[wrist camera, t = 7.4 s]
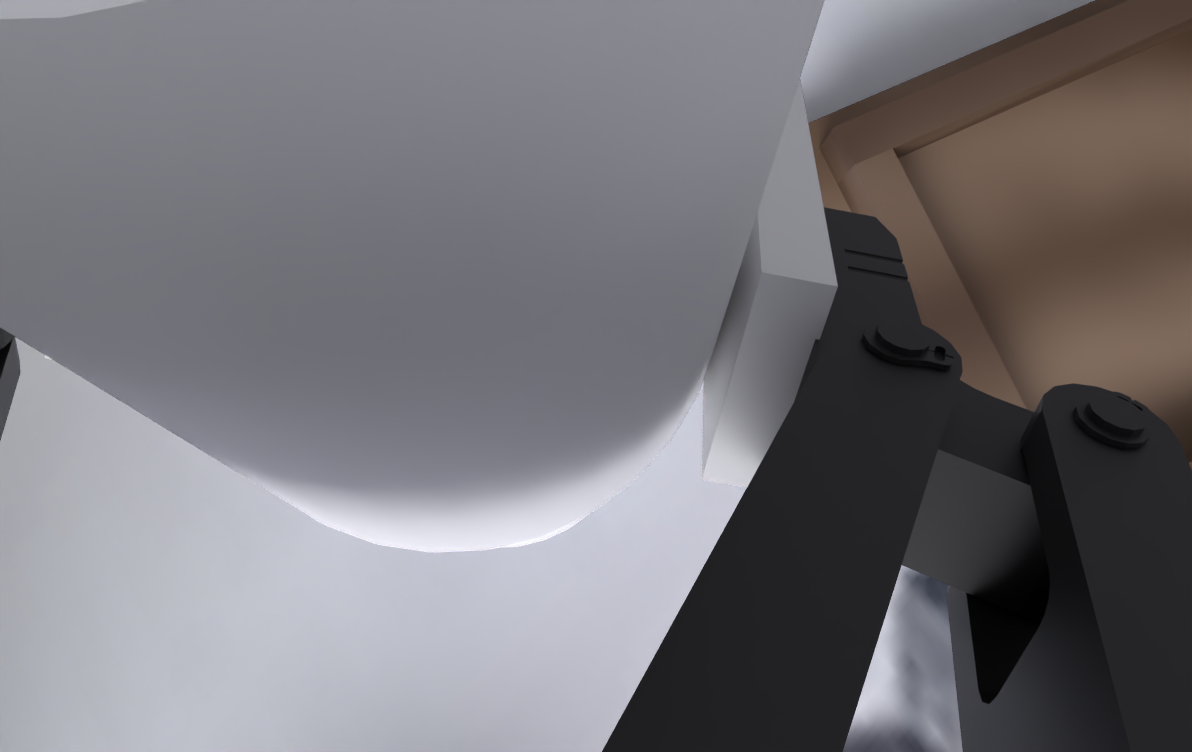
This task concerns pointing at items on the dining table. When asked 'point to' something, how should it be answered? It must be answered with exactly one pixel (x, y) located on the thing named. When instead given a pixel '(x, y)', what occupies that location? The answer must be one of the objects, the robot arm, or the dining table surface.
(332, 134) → the champagne flute
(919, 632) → the dining table surface
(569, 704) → the dining table surface
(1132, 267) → the walnut stand
